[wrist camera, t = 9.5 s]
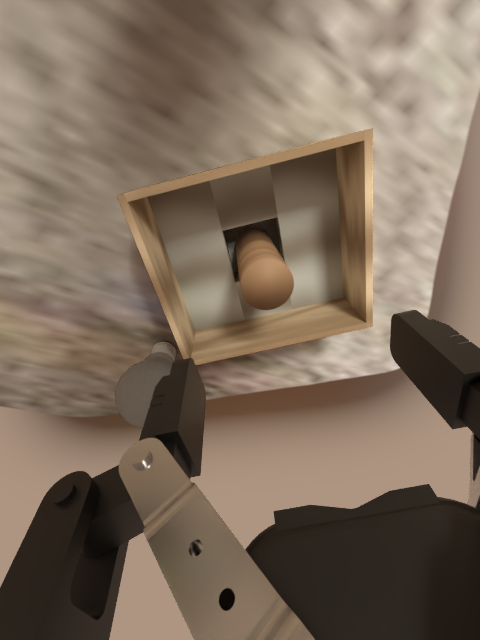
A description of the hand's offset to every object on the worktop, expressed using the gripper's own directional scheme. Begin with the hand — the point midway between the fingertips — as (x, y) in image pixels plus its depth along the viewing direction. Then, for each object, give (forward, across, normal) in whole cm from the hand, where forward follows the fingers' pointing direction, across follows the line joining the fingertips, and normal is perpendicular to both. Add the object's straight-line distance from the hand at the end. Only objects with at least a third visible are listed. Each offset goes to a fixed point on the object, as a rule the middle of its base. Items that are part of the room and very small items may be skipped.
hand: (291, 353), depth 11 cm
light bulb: (+18, +12, +9) cm, 23 cm away
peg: (+17, 0, 0) cm, 17 cm away
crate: (+17, 0, 0) cm, 17 cm away
